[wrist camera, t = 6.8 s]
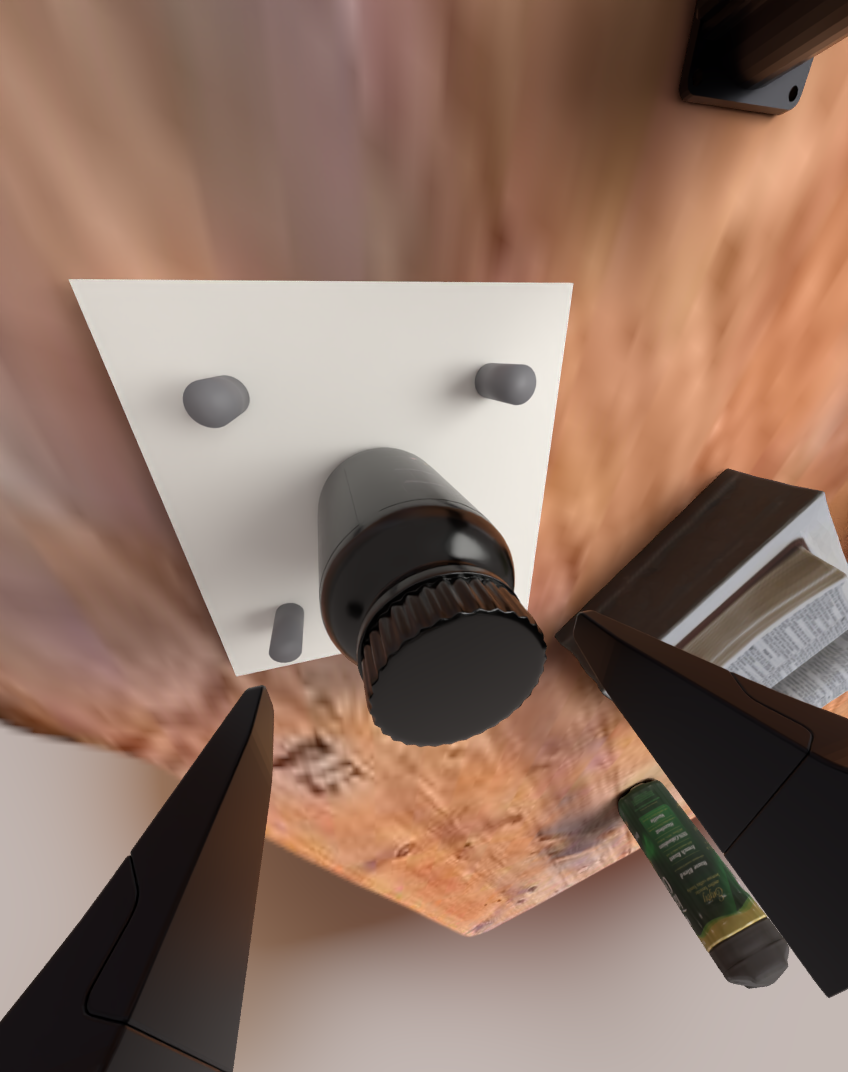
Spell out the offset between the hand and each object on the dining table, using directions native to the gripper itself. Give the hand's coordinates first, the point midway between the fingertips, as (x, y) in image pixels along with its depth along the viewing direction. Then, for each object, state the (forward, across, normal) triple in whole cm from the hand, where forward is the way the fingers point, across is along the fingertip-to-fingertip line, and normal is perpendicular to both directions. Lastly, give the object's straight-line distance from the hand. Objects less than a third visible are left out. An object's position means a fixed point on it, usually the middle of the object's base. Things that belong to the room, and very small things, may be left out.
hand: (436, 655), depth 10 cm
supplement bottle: (+11, 0, 0) cm, 11 cm away
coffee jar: (+12, -35, +54) cm, 66 cm away
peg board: (+12, 0, 0) cm, 12 cm away
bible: (+13, -29, +16) cm, 36 cm away
